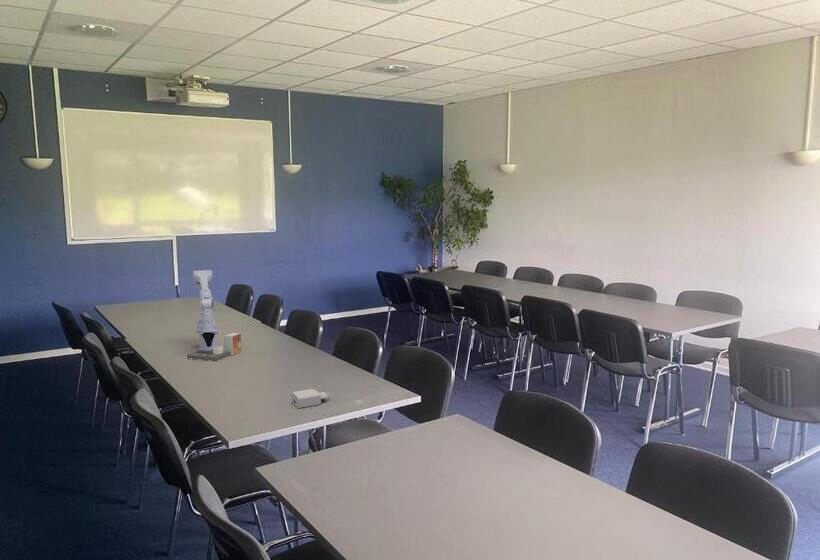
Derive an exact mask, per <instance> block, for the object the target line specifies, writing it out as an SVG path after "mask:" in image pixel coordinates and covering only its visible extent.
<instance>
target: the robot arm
mask: <svg viewBox="0 0 820 560" xmlns="http://www.w3.org/2000/svg"><path fill="white" fill-rule="evenodd" d="M192 276H193V277H192V278H193V284H194V286H195V287H197V288H198V291H199V304H200V305H199V307H200V316H199V317H198V318H197V319H196V321H195V323H196V324H195V325H196V326H195V327H196V328H195V333H196V334H199V347H198V348H197V349H196V351H199V350H213V348H214V347H216V346H218V336H217V335H221V334H222V329H217V328H216V320H215V318H214V307H215V305H214V299H213V297H212V296H213V295H212V291H211V289H210V288H209V287H210V286H211V285H212V283H213V271H212V270H211V269H204V270H193V272H192Z"/></svg>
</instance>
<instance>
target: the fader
mask: <svg viewBox="0 0 820 560" xmlns="http://www.w3.org/2000/svg"><path fill="white" fill-rule="evenodd" d="M212 350H213V351H214V354H215V355H219V354H222V353H223V351H224V345H217V346H216V347H214V348H213V349H212Z"/></svg>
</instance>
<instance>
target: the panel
mask: <svg viewBox="0 0 820 560" xmlns="http://www.w3.org/2000/svg"><path fill="white" fill-rule="evenodd" d="M230 356H231V355H230V352H227V351H224V350H223V353H222V354H219V355H215V354H214V350H213V349H212V350H196V351H194V352H192V353H189V354H187V355H186V359H187V358H192V359H191V360H195V359H202V360H201V361H208V360H212V361H211V362H219V361H221V360H223V359H225V357H226V358H228V357H230ZM218 360H219V361H218Z"/></svg>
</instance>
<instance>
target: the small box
mask: <svg viewBox="0 0 820 560" xmlns="http://www.w3.org/2000/svg"><path fill="white" fill-rule="evenodd" d="M241 334H242V333H238V332H237V333H236V332H231V333H229V334H226V335H223V351H227V352H230V356H235V355H238V354H240V352H241V353H242V335H241Z"/></svg>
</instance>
